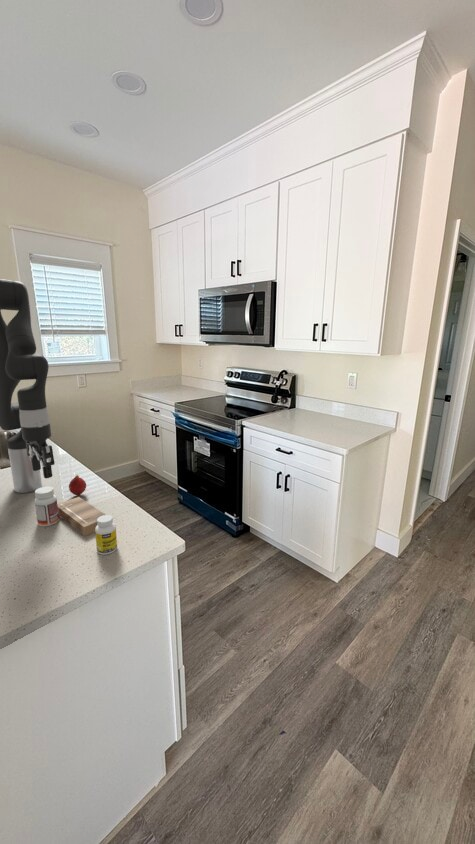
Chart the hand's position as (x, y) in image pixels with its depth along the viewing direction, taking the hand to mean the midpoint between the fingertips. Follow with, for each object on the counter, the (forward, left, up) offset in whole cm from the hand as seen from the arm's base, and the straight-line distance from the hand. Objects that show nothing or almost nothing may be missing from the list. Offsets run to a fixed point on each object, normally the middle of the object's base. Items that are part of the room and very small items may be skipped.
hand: (42, 473), depth 108 cm
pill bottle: (0, 0, -17) cm, 17 cm away
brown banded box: (+6, +8, -17) cm, 19 cm away
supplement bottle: (+27, +5, -17) cm, 32 cm away
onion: (-11, +15, -17) cm, 25 cm away
